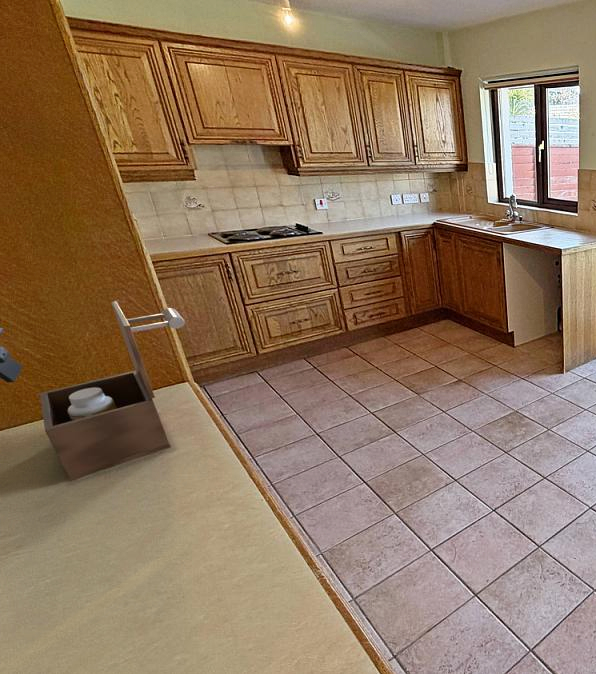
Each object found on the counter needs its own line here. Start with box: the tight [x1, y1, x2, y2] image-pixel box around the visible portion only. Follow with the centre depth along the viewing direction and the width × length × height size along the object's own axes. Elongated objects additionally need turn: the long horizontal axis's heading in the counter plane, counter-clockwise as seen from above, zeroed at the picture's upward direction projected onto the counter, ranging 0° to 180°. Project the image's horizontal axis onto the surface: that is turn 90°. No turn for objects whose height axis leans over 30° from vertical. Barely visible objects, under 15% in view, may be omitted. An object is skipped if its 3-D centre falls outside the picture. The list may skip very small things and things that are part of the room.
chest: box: [39, 370, 172, 482], centre depth 83 cm, size 13×16×10 cm
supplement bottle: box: [68, 388, 117, 421], centre depth 82 cm, size 6×6×10 cm
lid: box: [110, 300, 186, 399], centre depth 86 cm, size 14×16×8 cm
